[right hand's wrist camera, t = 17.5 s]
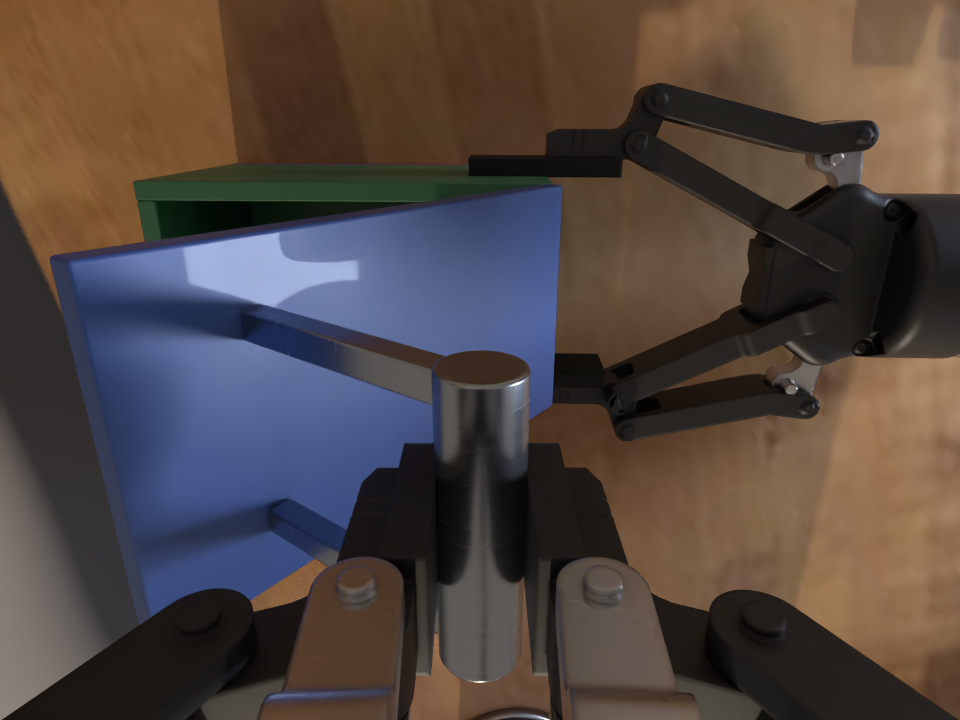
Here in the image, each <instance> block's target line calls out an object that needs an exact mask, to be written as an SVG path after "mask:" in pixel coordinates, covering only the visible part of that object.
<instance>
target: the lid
mask: <svg viewBox="0 0 960 720" xmlns="http://www.w3.org/2000/svg"><path fill="white" fill-rule="evenodd" d="M561 208H562V186H561V185H550V184H544V185H537V186H530V187H523V188H516V189H509V190H502V191H495V192H488V193H481V194H474V195H467V196H460V197H453V198H446V199H440V200H433V201H426V202H419V203H412V204H405V205H398V206H391V207H384V208H377V209H370V210H363V211H356V212H349V213H342V214H336V215H329V216H322V217H315V218H308V219H301V220H294V221H287V222H280V223H273V224H266V225H259V226H252V227H245V228H239V229H232V230H225V231H218V232H211V233H204V234H197V235H190V236H183V237H176V238H169V239H162V240H155V241H148V242H141V243H135V244H128V245H121V246H114V247H107V248H100V249H93V250H86V251H79V252H72V253H65V254H58V255H54V256H52V257H50V264H51V268H52V272H53V276H54V280H55V284H56V288H57V292H58V296H59V300H60V304H61V309H62V313H63V317H64V321H65V325H66V329H67V333H68V337H69V341H70V345H71V349H72V353H73V357H74V362H75V366H76V370H77V374H78V378H79V382H80V386H81V390H82V394H83V398H84V402H85V406H86V411H87V415H88V419H89V423H90V427H91V431H92V435H93V439H94V443H95V447H96V451H97V455H98V459H99V463H100V468H101V472H102V475H103V480H104V484H105V488H106V492H107V496H108V500H109V504H110V508H111V512H112V517H113V521H114V525H115V529H116V533H117V537H118V541H119V545H120V549H121V553H122V557H123V561H124V565H125V569H126V574H127V578H128V582H129V586H130V590H131V594H132V598H133V602H134V606H135V610H136V614H137V618H138V622H139V625H140V624H142V623H143V622H145V621H146V620H148V619H149V618H151V617H152V616H154V615H155V614H156V613H158V612H159V611H161V610H162V609H164V608H165V607H167V606H168V605H170V604H171V603H173V602H174V601H176V600H178V599H180V598H182V597H184V596H186V595H189V594H192V593H194V592H198V591H202V590H207V589H215V588H224V589H231V590H235V591H238V592H240V593H242V594H244V595H245V596H246V597H247V598H248V599H249V600H251V599H253V598H255V597H256V596H258V595H259V594H261V593H262V592H264V591H265V590H267V589H268V588H270V587H272V586H273V585H275V584H276V583H278V582H279V581H281V580H282V579H284V578H286V577H287V576H289V575H290V574H292V573H293V572H295V571H296V570H298V569H299V568H301V567H303V566H304V565H306V564H307V563H309V562H310V561H312V560H313V559H317V560H318V561H320V562H321V563H323V564H325V565H326V566H328V567H329V566H331V565H333V564H335V563H336V562H337V559H338V556H339V552H340V549H341V546H342V543H343V540H344V537H345V534H346V531H347V527H348V524H349V521H350V518H351V516H352V512H353V509H354V506H355V502H357V496H358V493H359V490H360V487H361V484H362V482H363V481H364V480H365V479H366V478H367V477H368V476H369V475H370V474H371V473H372V472H373V471H374V470H375V469H376V468H399V463H400V459H401V455H402V450H403V446H404V443H433V454H434V474H435V477H436V499H437V534H438V569H439V586H438V597H437V609H436V621H435V633H437V634H438V635H439V654H440V658H441V660H442V662H443V664H444V666H445V667H446V668H447V669H448V670H449V671H450V672H451V673H452V674H453V675H455V676H456V677H458V678H460V679H462V680H465V681H469V682H474V683H486V682H492V681H495V680H498V679H501V678H502V677H504V676H506V675H507V674H509V673H510V672H511V671H512V670H513V669H514V667H515V666H516V665H517V663H518V661H519V659H520V656H521V649H522V619H523V589H524V553H525V521H526V490H527V469H528V439H529V420H530V419H532V418H533V417H535V416H536V415H538V414H540V413H541V412H543V411H544V410H546V409H547V408H549V407H550V406H552V397H553V376H554V355H555V334H556V313H557V292H558V271H559V250H560V229H561Z"/></svg>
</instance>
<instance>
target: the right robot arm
mask: <svg viewBox="0 0 960 720" xmlns="http://www.w3.org/2000/svg"><path fill="white" fill-rule="evenodd" d="M524 584H525V594H526V605H527V616H528V627H529V637H530V648H531V659H532V670H533V676H548V678H549V686H550V710H549V714H547V713H544V712H541V711H538V710H533V709H526V708H508V709H502V710H497V711H494V712H491V713H488V714H486V715H484V716H482V717H480V718H478V719H477V720H958V719H956V718H955V717H953V716H952V715H950V714H949V713H947V712H946V711H945V710H943V709H942V708H940V707H939V706H937V705H936V704H934V703H933V702H931V701H930V700H929V699H927V698H926V697H924V696H923V695H921V694H920V693H918V692H917V691H915V690H914V689H913V688H911V687H910V686H908V685H907V684H905V683H904V682H902V681H901V680H899V679H898V678H897V677H895V676H894V675H892V674H891V673H889V672H888V671H886V670H885V669H883V668H882V667H881V666H879V665H878V664H876V663H875V662H873V661H872V660H870V659H869V658H868V657H866V656H865V655H863V654H862V653H860V652H859V651H857V650H856V649H854V648H853V647H852V646H850V645H849V644H847V643H846V642H844V641H843V640H841V639H840V638H838V637H837V636H836V635H834V634H833V633H831V632H830V631H828V630H827V629H825V628H824V627H822V626H821V625H820V624H818V623H817V622H815V621H814V620H812V619H811V618H809V617H808V616H806V615H805V614H804V613H802V612H801V611H799V610H798V609H796V608H795V607H793V606H792V605H790V604H789V603H787V602H785V601H783V600H781V599H779V598H777V597H775V596H772V595H769V594H766V593H762V592H758V591H752V590H734V591H729V592H726V593H723V594H721V595H719V596H718V597H717V598H715V600H714V601H713V602H712V604H711V606H710V610H709V612H708V611H704V610H700V609H695V608H691V607H687V606H683V605H679V604H675V603H672V602H669V601H667V600H664V599H662V598H660V597H658V596H656V595H654V594H653V593H651V591H650V588H649V585H648V583H647V581H646V580H645V578H644V577H643V576H642V575H641V574H640V573H639V572H638V571H636V570H635V569H634V568H632V567H631V566H629V565H628V562H627V559H626V556H625V553H624V550H623V547H622V544H621V541H620V538H619V535H618V532H617V529H616V526H615V523H614V519H613V516H611V510H610V507H609V504H608V502H607V498H606V495H605V492H604V489H603V486H602V483H601V481H599V480H598V479H597V478H596V477H595V476H594V475H593V474H592V473H591V472H590V471H589V470H588V469H587V468H565V466H564V462H563V458H562V454H561V450H560V446H559V443H528V469H527V490H526V521H525V553H524ZM438 586H439V569H438V534H437V499H436V477H435V474H434V454H433V443H404V446H403V450H402V455H401V459H400V463H399V468H376V469H375V470H374V471H373V472H372V473H371V474H370V475H369V476H368V477H367V478H366V479H365V480H364V481H363V482H362V484H361V487H360V490H359V493H358V496H357V502H355V506H354V509H353V512H352V516H351V518H350V521H349V524H348V527H347V531H346V534H345V537H344V540H343V543H342V546H341V549H340V552H339V556H338V559H337V562H336V563H335V564H333V565H331V566H329V567H328V568H326V569H325V570H323V571H322V572H321V573H320V574H319V575H318V576H317V577H316V578H315V580H314V581H313V583H312V585H311V588H310V591H309V594H308V596H306V597H304V598H302V599H300V600H297V601H295V602H292V603H288V604H285V605H281V606H277V607H273V608H268V609H264V610H260V611H256V612H253V607H252V604H251V602H250V600H249V599H248V598H247V597H246V596H245V595H244V594H242V593H240V592H238V591H235V590H231V589H224V588H215V589H207V590H202V591H198V592H194V593H192V594H189V595H186V596H184V597H182V598H180V599H178V600H176V601H174V602H173V603H171V604H170V605H168V606H167V607H165V608H164V609H162V610H161V611H159V612H158V613H156V614H155V615H154V616H152V617H151V618H149V619H148V620H146V621H145V622H143V623H142V624H140V625H139V626H138V627H136V628H135V629H133V630H132V631H130V632H129V633H127V634H126V635H124V636H123V637H122V638H120V639H119V640H117V641H116V642H114V643H113V644H111V645H110V646H108V647H107V648H106V649H104V650H103V651H101V652H100V653H98V654H97V655H95V656H94V657H93V658H91V659H90V660H88V661H87V662H85V663H84V664H82V665H81V666H79V667H78V668H77V669H75V670H74V671H72V672H71V673H69V674H68V675H66V676H65V677H63V678H62V679H61V680H59V681H58V682H56V683H55V684H53V685H52V686H50V687H49V688H48V689H46V690H45V691H43V692H42V693H40V694H39V695H37V696H36V697H34V698H33V699H31V700H30V701H29V702H27V703H26V704H24V705H23V706H21V707H20V708H18V709H17V710H16V711H14V712H13V713H11V714H10V715H8V716H7V717H5V718H4V719H2V720H411V712H410V706H411V704H412V700H413V696H414V687H415V678H416V676H431V667H432V655H433V644H434V632H435V621H436V609H437V597H438Z"/></svg>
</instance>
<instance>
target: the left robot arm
mask: <svg viewBox="0 0 960 720" xmlns="http://www.w3.org/2000/svg"><path fill="white" fill-rule="evenodd" d="M663 120H665V121H669V122H672V123H676V124H680V125H684V126H688V127H692V128H696V129H699V130H703V131H707V132H711V133H715V134H719V135H723V136H726V137H730V138H734V139H738V140H742V141H746V142H750V143H753V144H757V145H761V146H765V147H769V148H773V149H776V150H782V151H787V152H796V153H805V162H806V165H807V166H808V167H809V168H810V169H811V170H815V171H820V172H822V173H824V174H825V175H826V177H827V180H828V185H826V186H824V187H822V188H821V189H819V190H818V191H816V192H815V193H813V194H811V195H810V196H808V197H807V198H805V199H804V200H802V201H800V202H799V203H797V204H796V205H794V206H793V207H791V208H790V209H788V210H786V209H784V208H782V207H780V206H778V205H776V204H774V203H772V202H770V201H768V200H766V199H764V198H763V197H761V196H759V195H757V194H756V193H754V192H752V191H750V190H749V189H747V188H745V187H743V186H742V185H740V184H738V183H736V182H735V181H733V180H731V179H729V178H727V177H726V176H724V175H722V174H720V173H719V172H717V171H715V170H713V169H712V168H710V167H708V166H706V165H705V164H703V163H701V162H699V161H698V160H696V159H694V158H692V157H691V156H689V155H687V154H685V153H683V152H682V151H680V150H678V149H676V148H675V147H673V146H671V145H669V144H668V143H666V142H664V141H662V140H661V139H659V138H657V137H656V135H657V132H658V130H659V128H660V126H661V123H662V121H663ZM878 136H879V128H878V126H877V125H876V123H874V122H872V121H867V120H835V121H826V122H818V123H813V122H809V121H805V120H802V119H798V118H794V117H790V116H786V115H782V114H779V113H775V112H771V111H767V110H763V109H760V108H756V107H752V106H748V105H744V104H741V103H737V102H733V101H729V100H725V99H722V98H718V97H714V96H710V95H706V94H703V93H699V92H695V91H691V90H687V89H684V88H680V87H676V86H672V85H668V84H665V83H658V84H653V85H649V86H645V87H643V88H641V89H639V90H638V91H637V92H636V94H635V96H634V102H633V106H632V108H631V110H630V113H629V115H628V117H627V119H626V121H625V122H624V123H623V124H622V125H621V126H619V127H617V128H614V129H556V130H554V131H551V132H549V133H546V150H545V155H471V156H470V157H469V176H535V177H616V178H621V174H622V162H623V159H629V160H630V161H632V162H634V163H636V164H638V165H639V166H641V167H643V168H645V169H647V170H648V171H650V172H652V173H654V174H655V175H657V176H659V177H661V178H663V179H664V180H666V181H668V182H670V183H672V184H673V185H675V186H677V187H679V188H681V189H682V190H684V191H686V192H688V193H689V194H691V195H693V196H695V197H697V198H698V199H700V200H702V201H704V202H706V203H707V204H709V205H711V206H713V207H715V208H716V209H718V210H720V211H722V212H723V213H725V214H727V215H729V216H731V217H732V218H734V219H735V220H737V221H739V222H740V223H742V224H744V225H746V226H748V227H749V228H751V229H753V230H755V231H757V232H758V233H757V235H756V237H755V239H750V242H749V249H748V263H749V273H748V276H747V278H746V280H745V282H744V285H743V287H742V294H741V300H740V302H741V303H742V304H741V305H739V306H737V307H735V308H732V309H730V310H728V311H726V312H724V313H723V314H721V316H720V318H718V319H717V320H715V321H713V322H710V323H708V324H706V325H704V326H701V327H699V328H697V329H694V330H692V331H690V332H688V333H685V334H683V335H681V336H679V337H676V338H674V339H672V340H669V341H667V342H665V343H663V344H660V345H658V346H656V347H654V348H651V349H649V350H647V351H644V352H642V353H640V354H638V355H635V356H633V357H631V358H629V359H626V360H624V361H622V362H619V363H617V364H615V365H613V366H610V367H608V368H606V369H604V368H603V366H602V363H601V361H600V359H599V356H598V354H564V353H555V355H554V376H553V397H552V403H566V404H567V403H569V404H599V405H601V406H603V407H605V408H606V409H607V411H608V414H609V417H610V420H611V422H612V425H613V428H614V430H615V433H616V435H617V437H618V438H619V439H620V440H623V441H632V440H637V439H643V438H648V437H653V436H659V435H664V434H670V433H675V432H680V431H686V430H691V429H696V428H702V427H707V426H712V425H718V424H723V423H729V422H734V421H739V420H745V419H750V418H755V417H761V416H766V415H775V416H783V417H791V418H799V419H809V418H812V417H814V416H815V415H816V414H817V413H818V411H819V409H820V404H819V401H818V400H817V399H816V398H815V397H814V396H812V393H813V390H814V387H815V385H816V382H817V379H818V376H819V373H820V370H821V367H822V365H827V364H830V363H832V362H834V361H836V360H839V359H841V358H845V357H850V356H860V357H877V358H949V357H958V358H960V194H879V193H875V192H873V191H871V190H870V189H869V188H867V187H865V186H863V185H861V177H862V167H863V156H864V150H867V149H869V148H871V147H872V146H873V145H874V144H875V143H876V141H877V140H878ZM781 345H783V346H784V347H785V348H787V349H788V350H789V351H791V352H792V353H793V354H794V357H793V359H792V361H791V362H790V363H788V364H786V365H784V366H777V367H770V368H768V369H767V371H766V374H767V375H762V374H751V375H743V376H737V377H732V378H726V379H721V380H716V381H711V382H706V383H701V384H695V385H690V386H685V387H680V388H675V389H670V390H665V391H662V390H664V389H667V388H669V387H671V386H674V385H676V384H678V383H681V382H683V381H685V380H688V379H690V378H693V377H695V376H697V375H700V374H702V373H704V372H707V371H709V370H711V369H714V368H716V367H718V366H721V365H723V364H725V363H728V362H730V361H732V360H735V359H737V358H740V357H742V356H756V355H759V354H762V353H764V352H766V351H769V350H771V349H774V348H776V347H778V346H781Z"/></svg>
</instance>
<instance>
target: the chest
mask: <svg viewBox="0 0 960 720" xmlns="http://www.w3.org/2000/svg"><path fill="white" fill-rule="evenodd" d="M133 183H134V189H135V194H136V199H137V200H139V201H138V208H139V213H140V218H141V224H142V229H143V234H144V240H145V242H148V241H155V240H162V239H169V238H176V237H183V236H190V235H197V234H204V233H211V232H218V231H225V230H232V229H239V228H245V227H252V226H259V225H266V224H273V223H280V222H287V221H294V220H301V219H308V218H315V217H322V216H329V215H336V214H342V213H349V212H356V211H363V210H370V209H377V208H384V207H391V206H398V205H405V204H412V203H419V202H426V201H433V200H440V199H446V198H453V197H460V196H467V195H474V194H481V193H488V192H495V191H502V190H509V189H516V188H523V187H530V186H537V185H544V184H550V185H553V183H552V182H551V181H550V180H549V178H548V177H535V176H469V164H347V163H235V164H231V165H225V166H219V167H214V168H208V169H202V170H196V171H190V172H185V173H179V174H173V175H167V176H161V177H155V178H150V179H144V180H138V181H134V182H133Z"/></svg>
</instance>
